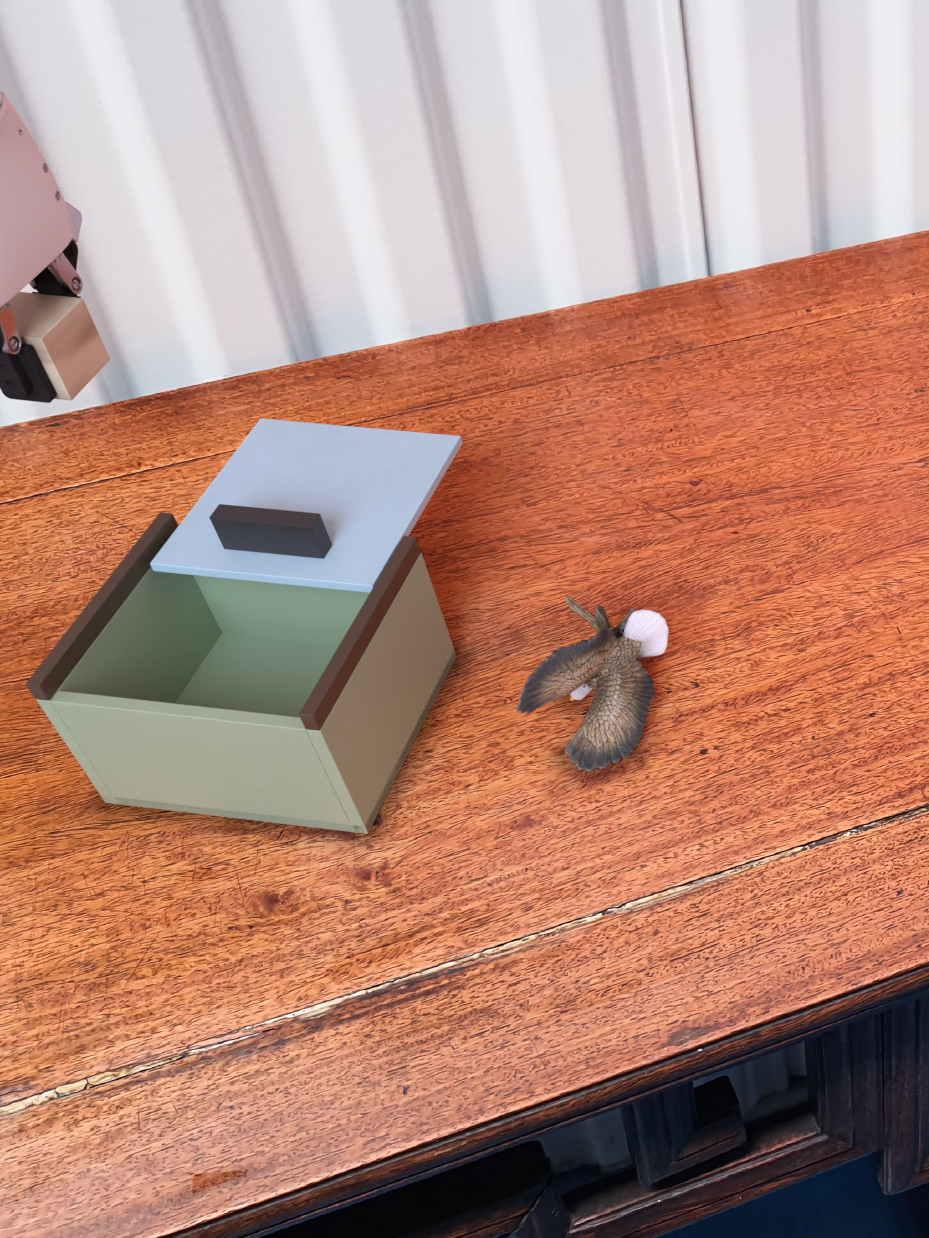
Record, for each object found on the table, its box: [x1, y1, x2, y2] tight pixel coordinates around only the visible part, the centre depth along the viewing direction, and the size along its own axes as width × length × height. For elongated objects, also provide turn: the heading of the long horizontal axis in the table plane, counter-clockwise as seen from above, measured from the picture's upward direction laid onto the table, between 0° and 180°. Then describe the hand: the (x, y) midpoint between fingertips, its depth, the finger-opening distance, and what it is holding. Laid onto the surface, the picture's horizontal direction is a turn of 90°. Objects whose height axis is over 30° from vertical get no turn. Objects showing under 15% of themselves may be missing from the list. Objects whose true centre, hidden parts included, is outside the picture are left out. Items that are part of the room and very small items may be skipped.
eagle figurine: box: [515, 595, 670, 773], centre depth 81 cm, size 8×7×9 cm
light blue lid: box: [150, 417, 464, 593], centre depth 82 cm, size 13×14×3 cm
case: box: [25, 511, 457, 835], centre depth 79 cm, size 16×14×10 cm
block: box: [10, 291, 111, 401], centre depth 88 cm, size 5×5×5 cm
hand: (54, 370), depth 89 cm, fingers closed on block, 4 cm apart
